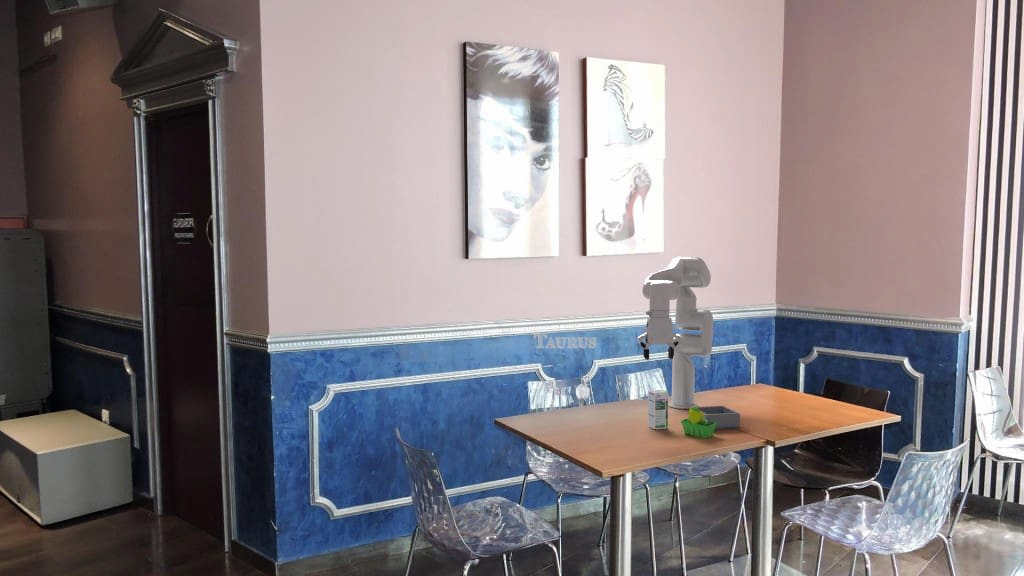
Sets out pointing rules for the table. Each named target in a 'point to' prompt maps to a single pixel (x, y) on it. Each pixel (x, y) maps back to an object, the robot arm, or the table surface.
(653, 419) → the syrup box
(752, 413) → the table surface
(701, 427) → the fruit basket
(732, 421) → the bin
